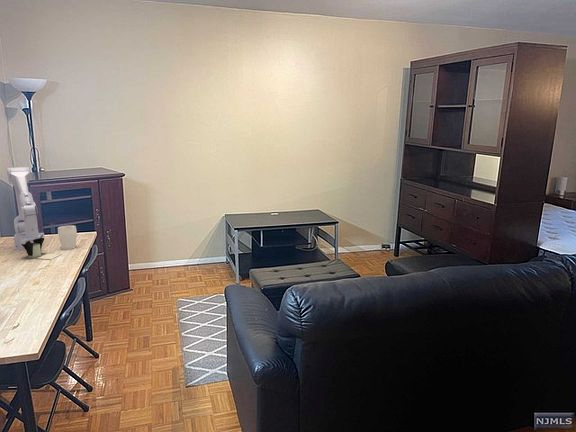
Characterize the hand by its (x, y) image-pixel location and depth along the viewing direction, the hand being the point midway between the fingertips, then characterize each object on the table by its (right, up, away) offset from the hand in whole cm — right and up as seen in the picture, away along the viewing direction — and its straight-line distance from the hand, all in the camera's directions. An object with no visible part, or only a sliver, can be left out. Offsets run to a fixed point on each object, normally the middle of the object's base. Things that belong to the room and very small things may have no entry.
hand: (34, 253), depth 216 cm
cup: (+10, +1, +15) cm, 18 cm away
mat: (+4, -2, 0) cm, 4 cm away
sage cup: (0, -1, 0) cm, 1 cm away
